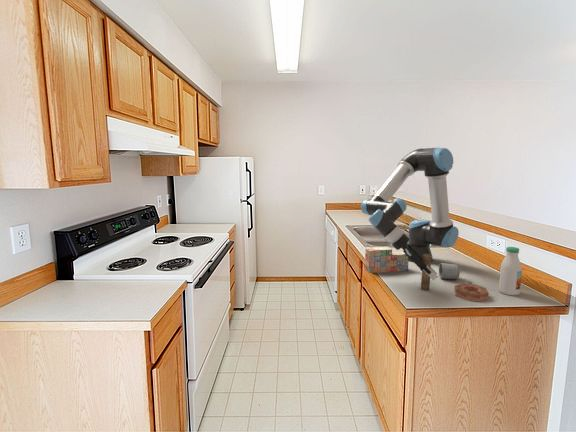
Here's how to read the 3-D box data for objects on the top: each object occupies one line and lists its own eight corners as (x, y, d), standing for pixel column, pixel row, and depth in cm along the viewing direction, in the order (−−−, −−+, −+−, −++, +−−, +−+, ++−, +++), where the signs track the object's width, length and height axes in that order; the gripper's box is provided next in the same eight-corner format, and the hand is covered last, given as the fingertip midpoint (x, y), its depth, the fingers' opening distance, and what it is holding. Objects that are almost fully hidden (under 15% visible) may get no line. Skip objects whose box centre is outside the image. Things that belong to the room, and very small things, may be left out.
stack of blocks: (403, 267, 186) (403, 245, 184) (408, 271, 180) (409, 248, 178) (364, 269, 184) (365, 247, 182) (368, 273, 178) (369, 250, 176)
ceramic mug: (460, 281, 163) (461, 265, 162) (441, 280, 164) (442, 265, 163) (453, 274, 173) (454, 260, 172) (436, 274, 175) (437, 259, 174)
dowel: (420, 287, 156) (422, 253, 154) (429, 288, 155) (431, 254, 153) (421, 290, 153) (422, 255, 150) (429, 291, 152) (431, 256, 149)
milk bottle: (510, 297, 143) (514, 250, 140) (494, 290, 151) (497, 246, 148) (524, 294, 146) (528, 249, 142) (508, 288, 153) (511, 245, 150)
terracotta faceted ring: (453, 288, 154) (453, 282, 153) (483, 291, 150) (484, 285, 149) (456, 298, 143) (457, 292, 142) (489, 302, 139) (490, 295, 138)
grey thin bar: (469, 283, 160) (469, 281, 160) (470, 283, 160) (471, 282, 160) (472, 290, 151) (472, 289, 151) (474, 290, 151) (474, 289, 151)
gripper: (392, 239, 164) (427, 276, 161) (390, 248, 148) (429, 288, 145) (404, 229, 161) (440, 266, 158) (403, 236, 146) (443, 277, 143)
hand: (435, 276), depth 152 cm, fingers closed on dowel, 3 cm apart
